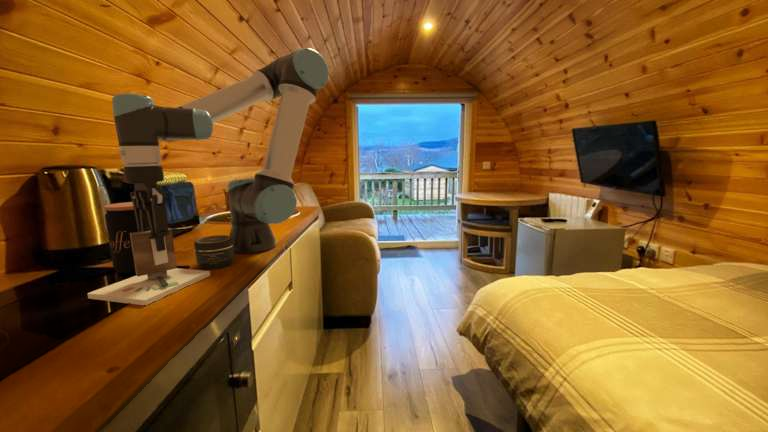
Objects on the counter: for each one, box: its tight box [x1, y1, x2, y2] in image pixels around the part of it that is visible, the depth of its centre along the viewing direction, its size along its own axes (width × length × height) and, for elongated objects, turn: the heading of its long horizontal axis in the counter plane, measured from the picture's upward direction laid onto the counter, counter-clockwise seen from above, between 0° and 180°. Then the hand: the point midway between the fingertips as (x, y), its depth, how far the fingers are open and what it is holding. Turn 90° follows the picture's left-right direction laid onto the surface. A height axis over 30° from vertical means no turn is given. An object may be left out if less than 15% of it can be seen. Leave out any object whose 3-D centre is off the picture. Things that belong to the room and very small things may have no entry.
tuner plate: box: [87, 267, 211, 306], centre depth 80 cm, size 18×16×1 cm
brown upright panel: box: [130, 227, 178, 286], centre depth 78 cm, size 11×8×12 cm
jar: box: [193, 234, 235, 271], centre depth 94 cm, size 10×10×8 cm
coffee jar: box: [103, 201, 139, 274], centre depth 92 cm, size 11×11×18 cm
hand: (157, 261), depth 81 cm, fingers closed on brown upright panel, 3 cm apart
